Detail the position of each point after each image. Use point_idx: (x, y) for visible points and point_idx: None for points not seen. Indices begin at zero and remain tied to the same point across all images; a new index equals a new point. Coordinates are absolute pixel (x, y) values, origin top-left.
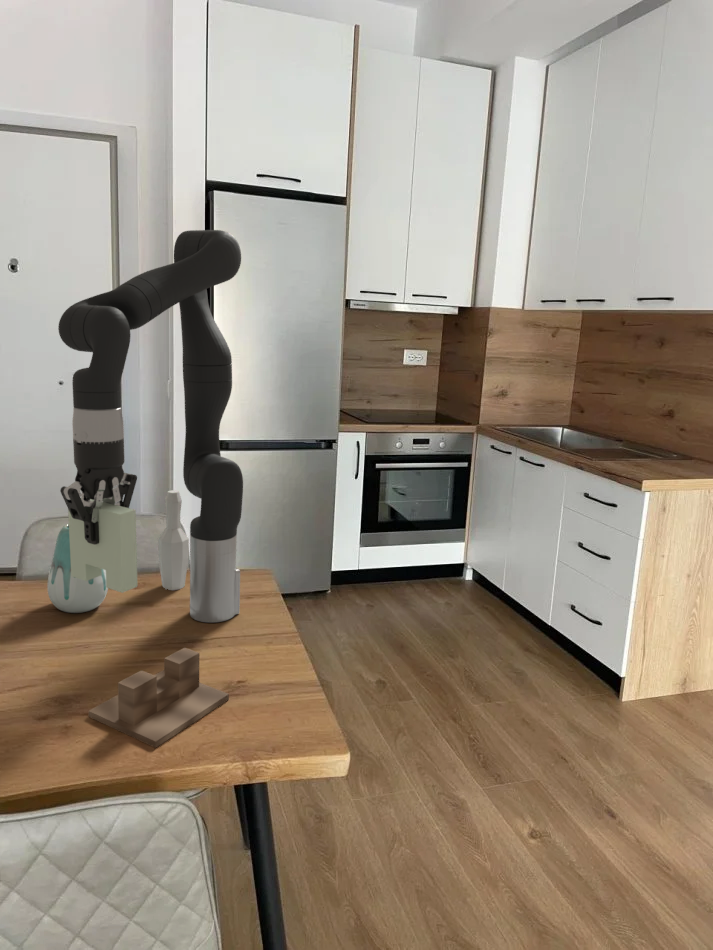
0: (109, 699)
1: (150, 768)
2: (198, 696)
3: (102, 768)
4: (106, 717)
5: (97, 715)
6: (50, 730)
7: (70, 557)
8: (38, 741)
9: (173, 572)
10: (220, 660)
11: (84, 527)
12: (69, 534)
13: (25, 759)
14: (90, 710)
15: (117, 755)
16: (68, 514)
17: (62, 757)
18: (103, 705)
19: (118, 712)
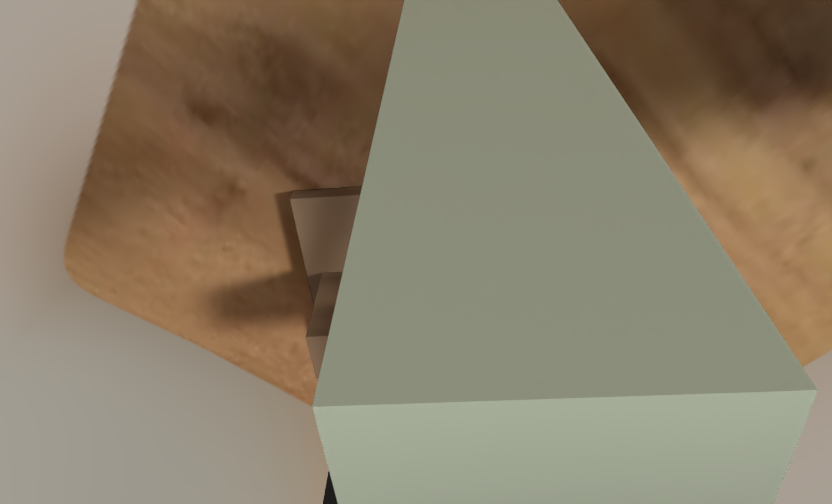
0: (357, 195)
1: (288, 389)
2: None
3: (223, 339)
4: (305, 250)
5: (296, 226)
6: (196, 172)
7: (399, 24)
8: (156, 189)
9: None
10: (717, 225)
11: (326, 492)
12: (384, 98)
13: (111, 223)
14: (294, 201)
15: (264, 331)
16: (354, 226)
17: (177, 268)
18: (329, 206)
19: (338, 253)
